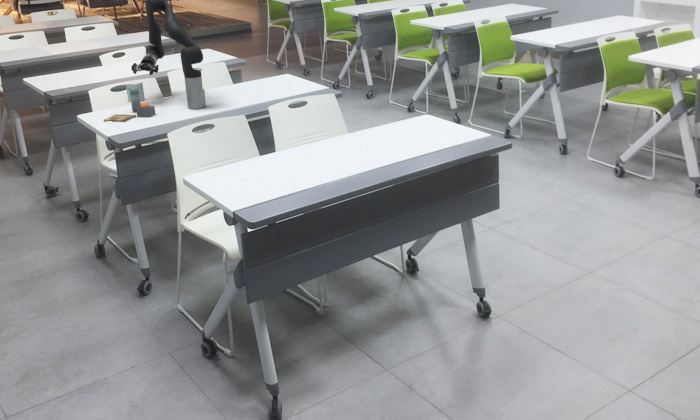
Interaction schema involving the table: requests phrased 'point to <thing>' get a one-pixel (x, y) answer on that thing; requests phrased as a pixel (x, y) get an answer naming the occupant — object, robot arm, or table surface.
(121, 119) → the kraft pad
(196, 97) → the robot arm
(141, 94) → the small box
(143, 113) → the button housing
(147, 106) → the button
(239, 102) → the table surface
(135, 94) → the marker
